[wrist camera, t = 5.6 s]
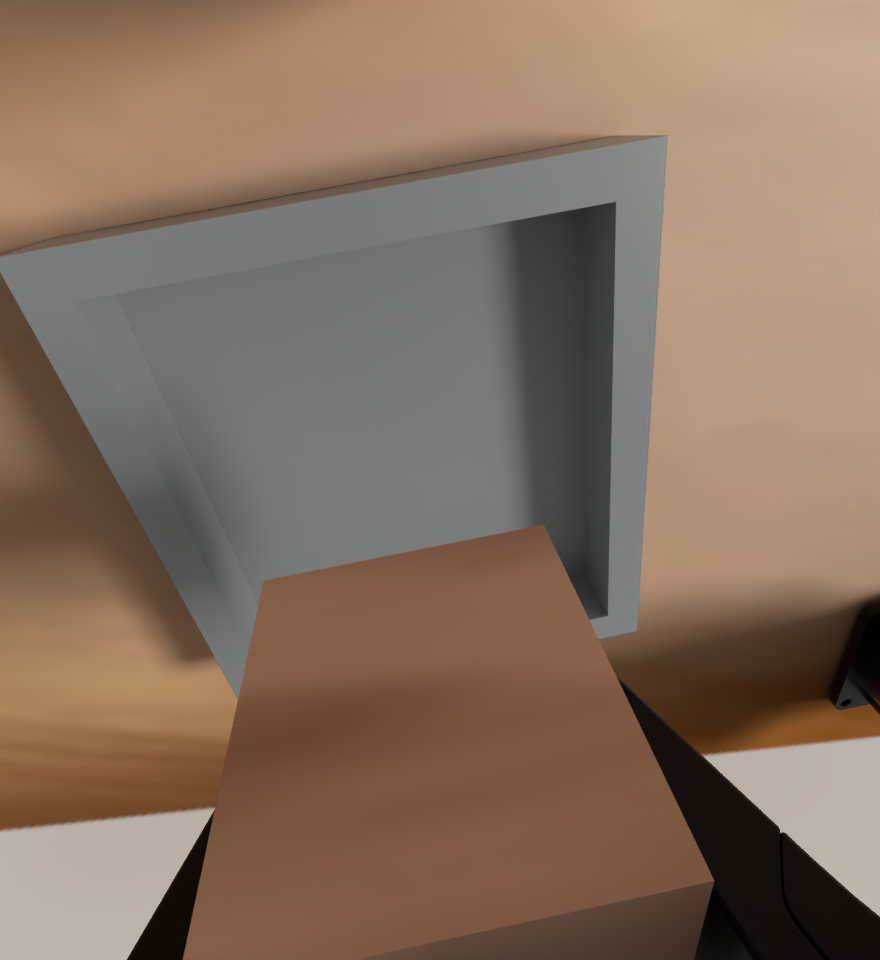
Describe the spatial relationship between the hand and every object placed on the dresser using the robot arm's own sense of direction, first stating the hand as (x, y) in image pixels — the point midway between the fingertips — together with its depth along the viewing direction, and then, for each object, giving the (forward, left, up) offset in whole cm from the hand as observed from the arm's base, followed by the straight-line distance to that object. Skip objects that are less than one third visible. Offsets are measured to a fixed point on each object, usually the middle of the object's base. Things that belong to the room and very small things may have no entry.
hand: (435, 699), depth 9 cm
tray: (0, 0, -9) cm, 9 cm away
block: (0, 0, -1) cm, 1 cm away
